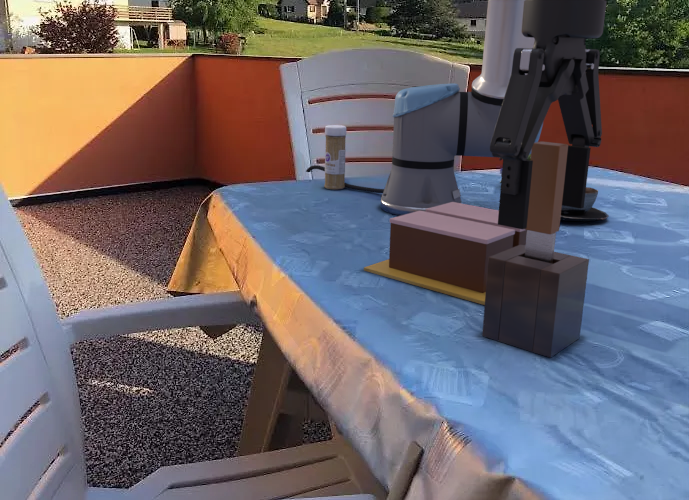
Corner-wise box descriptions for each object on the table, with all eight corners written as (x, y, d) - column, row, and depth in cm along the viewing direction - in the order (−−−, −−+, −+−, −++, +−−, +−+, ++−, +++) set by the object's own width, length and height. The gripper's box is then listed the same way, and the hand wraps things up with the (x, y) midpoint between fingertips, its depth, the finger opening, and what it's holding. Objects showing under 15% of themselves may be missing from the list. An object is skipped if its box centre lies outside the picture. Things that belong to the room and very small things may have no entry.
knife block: (481, 336, 77) (488, 256, 74) (513, 318, 82) (520, 244, 79) (550, 358, 72) (559, 273, 69) (579, 338, 77) (589, 259, 74)
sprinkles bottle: (320, 188, 153) (320, 125, 150) (333, 185, 157) (334, 124, 153) (336, 191, 151) (337, 127, 147) (349, 188, 154) (350, 125, 150)
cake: (363, 270, 98) (365, 218, 96) (444, 243, 113) (447, 197, 111) (489, 306, 86) (494, 247, 83) (563, 270, 100) (568, 219, 98)
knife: (513, 336, 77) (531, 142, 71) (522, 330, 79) (540, 141, 73) (539, 343, 75) (559, 146, 69) (547, 338, 77) (568, 144, 71)
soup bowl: (560, 229, 123) (564, 187, 121) (504, 209, 137) (507, 171, 135) (625, 222, 128) (631, 182, 126) (566, 204, 142) (570, 167, 140)
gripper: (542, -17, 56) (518, 245, 62) (651, 1, 73) (624, 203, 79) (461, -14, 61) (446, 229, 67) (581, 2, 78) (561, 193, 84)
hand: (543, 215), depth 73 cm, fingers open, 12 cm apart
